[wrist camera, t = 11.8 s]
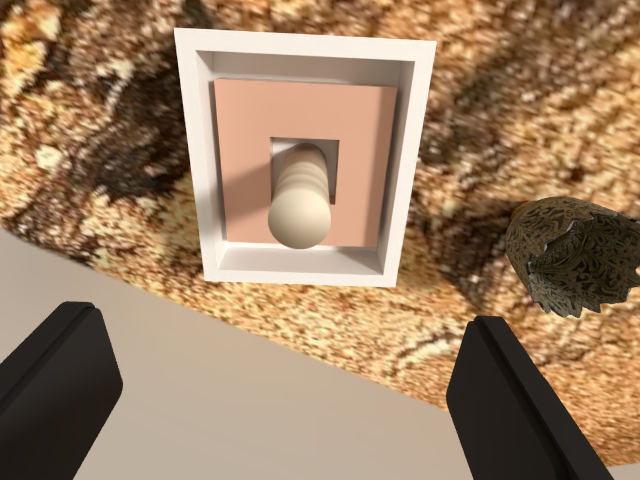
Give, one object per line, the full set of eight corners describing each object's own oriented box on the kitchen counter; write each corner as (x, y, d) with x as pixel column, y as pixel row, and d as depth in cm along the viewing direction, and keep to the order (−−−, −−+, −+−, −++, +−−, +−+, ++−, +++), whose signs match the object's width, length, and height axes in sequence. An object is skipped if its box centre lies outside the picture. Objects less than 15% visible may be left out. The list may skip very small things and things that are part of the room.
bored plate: (221, 76, 23) (213, 78, 22) (390, 85, 24) (397, 87, 22) (233, 229, 28) (227, 241, 27) (372, 235, 29) (375, 247, 27)
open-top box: (198, 32, 23) (173, 27, 19) (416, 43, 23) (436, 41, 19) (219, 250, 30) (204, 280, 26) (385, 256, 31) (395, 287, 27)
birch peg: (284, 141, 25) (266, 190, 16) (327, 143, 25) (332, 193, 16) (284, 182, 27) (268, 248, 18) (325, 184, 27) (329, 250, 18)
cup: (553, 261, 31) (622, 323, 24) (469, 255, 31) (514, 316, 24) (590, 178, 28) (684, 221, 21) (496, 170, 27) (559, 211, 20)
